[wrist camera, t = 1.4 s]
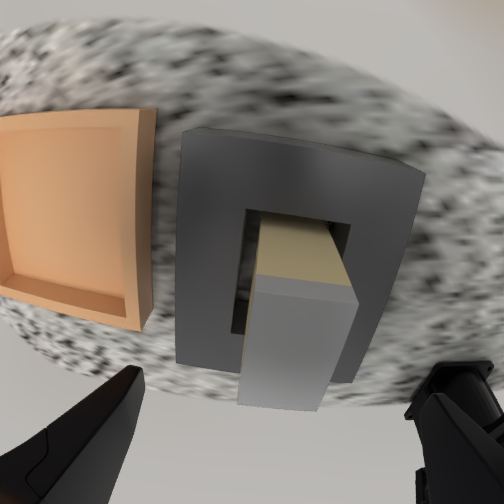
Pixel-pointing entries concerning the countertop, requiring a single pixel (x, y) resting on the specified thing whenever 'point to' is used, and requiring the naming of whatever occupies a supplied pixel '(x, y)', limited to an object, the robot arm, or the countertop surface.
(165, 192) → the countertop surface
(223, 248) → the gray rectangular frame
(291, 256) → the block
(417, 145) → the countertop surface
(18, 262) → the parts tray
